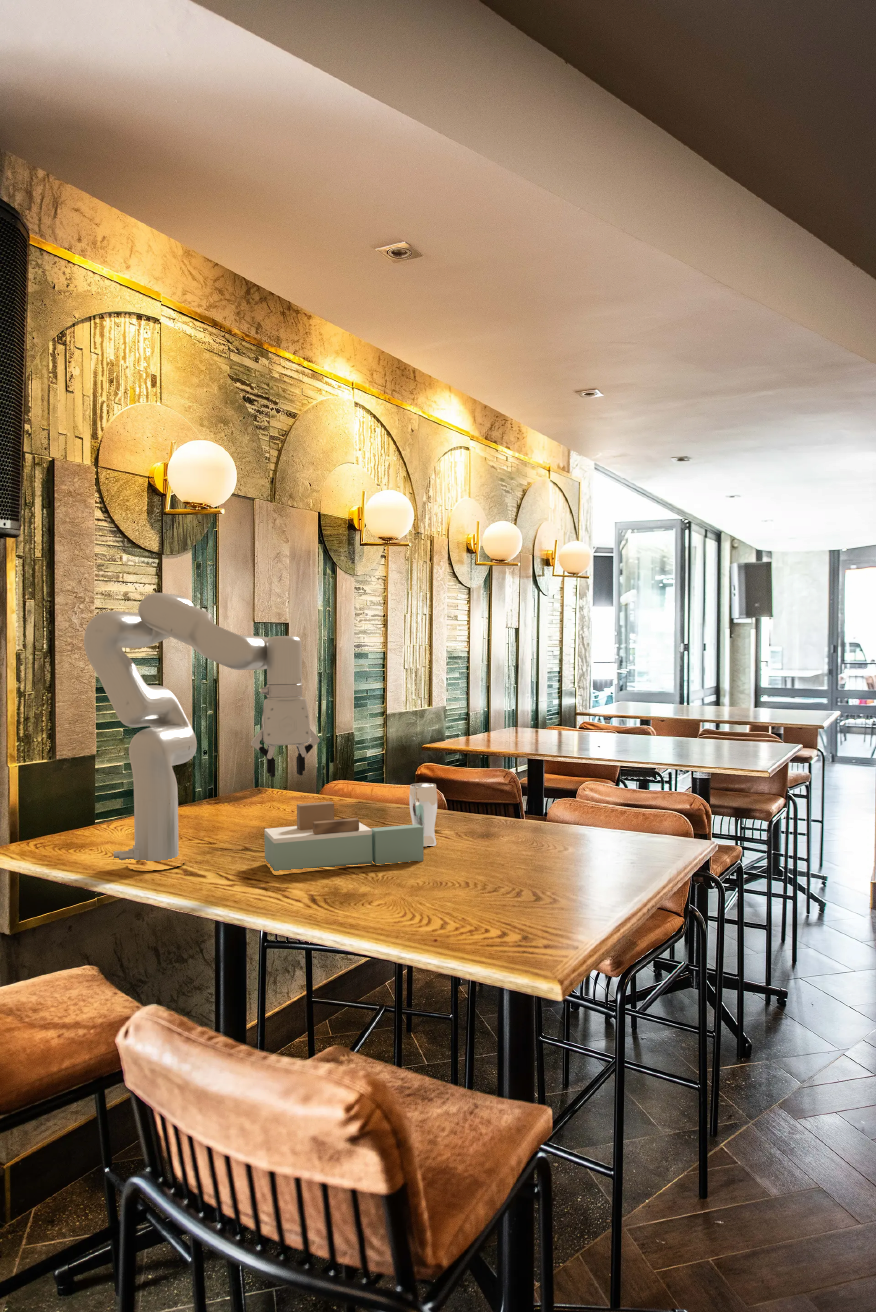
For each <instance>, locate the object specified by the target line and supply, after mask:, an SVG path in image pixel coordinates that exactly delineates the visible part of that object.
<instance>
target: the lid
mask: <svg viewBox="0 0 876 1312" xmlns="http://www.w3.org/2000/svg"><path fill="white" fill-rule="evenodd" d="M328 820H335V803H334V802H332V801H321V802H308V803H297V804H296V825H294V826H292V825H291V826H282V827H281V826H280V827H270V828H264V831H263V832H264V835H265V834H266V835H267V836H268V837H269V839H270V840H271V841H272V842H273V843H284V842H295V841H305V840H316V839H327V838H338V837H348V836H359V835H370V834H372V830H371V828H370V827H368V826H366V825H365V824H363V823H361V822H360V821H359V831H348V832H336V833H325V834H314V833H313V822H316V821H328Z"/></svg>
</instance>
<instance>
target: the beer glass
mask: <svg viewBox="0 0 876 1312" xmlns="http://www.w3.org/2000/svg"><path fill="white" fill-rule="evenodd" d="M409 812H410V819H411V823H412V824H411V825H413V824H419V825H421V826H423V847H425V848H427V847H426V846H433V847H435V846H437V840H436V834H435V828H436V827H435V826H436V820H437V819H436V818H437V812H438V791H437V784H436V783H432V782H431V783H430V782H419V783H412V784H410V786H409Z"/></svg>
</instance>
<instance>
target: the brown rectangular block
mask: <svg viewBox="0 0 876 1312" xmlns="http://www.w3.org/2000/svg"><path fill="white" fill-rule="evenodd" d="M359 822H360V819H358V817H355V818H339V819H334V820H328V821H316V822H313V833H314V834H325V833H336V832H348V831H359Z"/></svg>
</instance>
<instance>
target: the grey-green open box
mask: <svg viewBox="0 0 876 1312" xmlns="http://www.w3.org/2000/svg"><path fill="white" fill-rule="evenodd" d="M370 829H371V830H372V834H370V835H359V836H348V837H338V838H327V839H316V840H305V841H295V842H284V843H273V842H272V841H271V840H270V839H269V837H268V836H267V835H266V834H265V833H264V860H265V859H266V861H267V862H268V863H269V864H270V866H271V867H272V868H273V870H274V871H279V870H291V869H303V868H317V867H318V868H319V867H335V866H346V865H358V864H372V865H373V863H372V861H373V862H374V863H375V864H385V863H398V862H408V863H410V862H409V861H418V862H424V861H423V860H425V859H424V858H425V857H424V856H425V855H424V848H423V826H421V825H419V824H405V825H404V824H403V825H394V826H393V825H392V826H383V827H372V828H370Z"/></svg>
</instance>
